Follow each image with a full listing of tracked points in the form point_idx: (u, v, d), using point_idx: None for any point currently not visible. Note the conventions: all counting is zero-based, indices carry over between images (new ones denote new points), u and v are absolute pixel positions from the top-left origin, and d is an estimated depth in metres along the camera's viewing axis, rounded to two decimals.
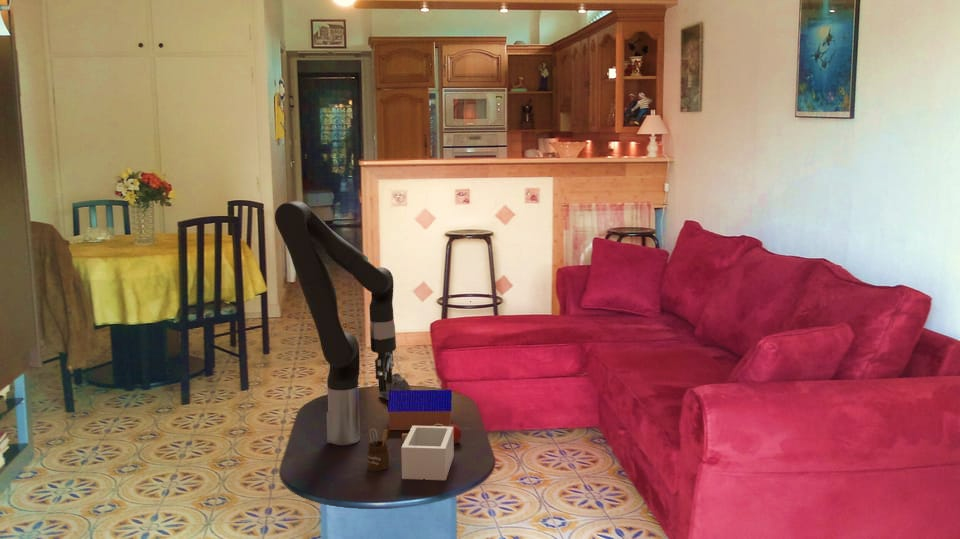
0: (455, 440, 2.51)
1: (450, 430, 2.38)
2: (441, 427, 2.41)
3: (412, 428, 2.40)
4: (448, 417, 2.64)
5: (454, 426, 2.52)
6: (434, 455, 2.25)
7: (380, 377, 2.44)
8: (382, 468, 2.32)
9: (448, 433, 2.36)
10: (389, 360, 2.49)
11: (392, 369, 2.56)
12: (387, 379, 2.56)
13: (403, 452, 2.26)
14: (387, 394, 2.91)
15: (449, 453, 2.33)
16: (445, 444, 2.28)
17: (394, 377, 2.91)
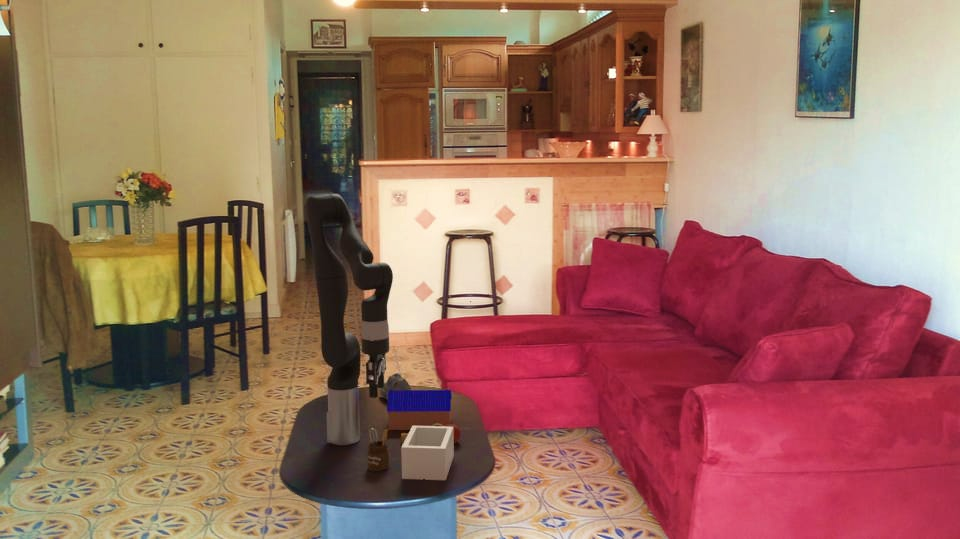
0: (454, 440, 2.51)
1: (450, 430, 2.38)
2: (441, 427, 2.41)
3: (412, 428, 2.40)
4: (447, 417, 2.63)
5: (453, 426, 2.52)
6: (434, 455, 2.25)
7: (371, 382, 2.24)
8: (382, 468, 2.32)
9: (448, 433, 2.36)
10: (381, 363, 2.28)
11: (384, 373, 2.36)
12: (378, 384, 2.35)
13: (403, 452, 2.26)
14: (387, 394, 2.91)
15: (449, 453, 2.33)
16: (445, 444, 2.28)
17: (394, 377, 2.91)
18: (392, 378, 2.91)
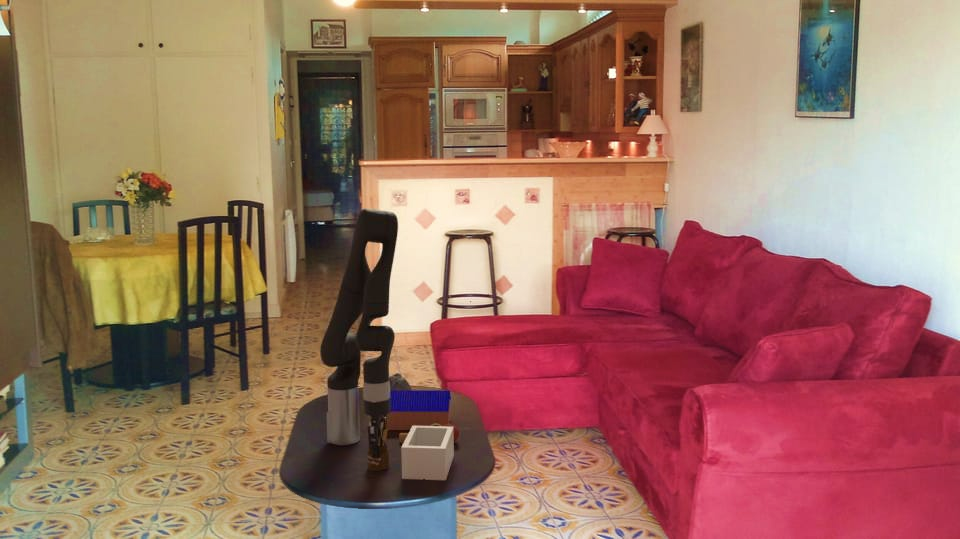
0: None
1: (450, 430, 2.38)
2: (441, 427, 2.41)
3: (412, 428, 2.40)
4: (446, 418, 2.63)
5: (452, 426, 2.52)
6: (434, 455, 2.25)
7: (373, 444, 2.28)
8: (382, 468, 2.32)
9: (448, 433, 2.36)
10: (383, 424, 2.31)
11: None
12: None
13: (403, 452, 2.26)
14: None
15: (449, 453, 2.33)
16: (445, 444, 2.28)
17: (395, 377, 2.91)
18: (393, 378, 2.92)
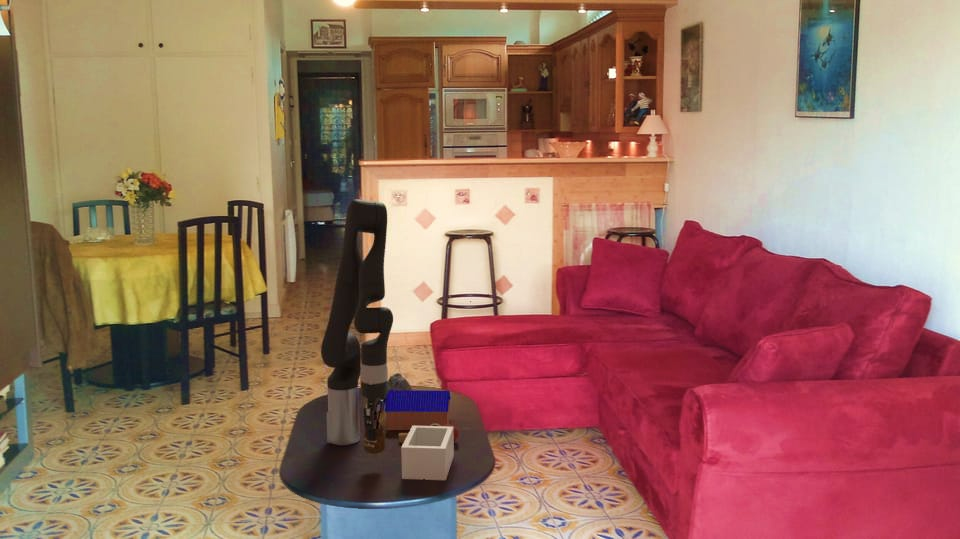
0: None
1: (450, 430, 2.38)
2: (441, 427, 2.41)
3: (412, 428, 2.40)
4: (445, 418, 2.63)
5: (451, 426, 2.52)
6: (434, 455, 2.25)
7: (369, 426, 2.27)
8: (378, 451, 2.31)
9: (448, 433, 2.36)
10: (379, 406, 2.30)
11: None
12: None
13: (403, 452, 2.26)
14: None
15: (449, 453, 2.33)
16: (445, 444, 2.28)
17: (395, 377, 2.91)
18: (393, 378, 2.92)
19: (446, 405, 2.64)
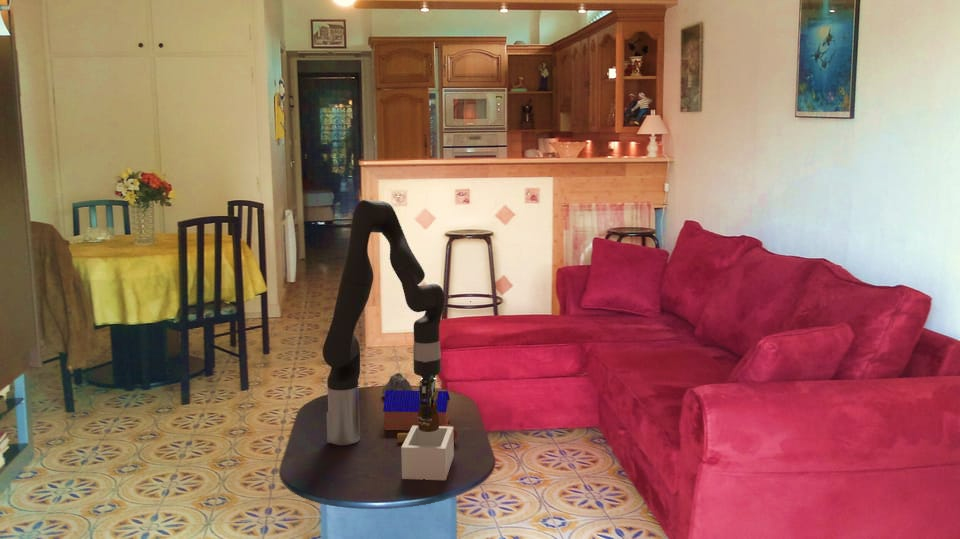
0: None
1: (450, 430, 2.38)
2: (441, 427, 2.41)
3: (412, 428, 2.40)
4: (443, 418, 2.62)
5: (449, 426, 2.51)
6: (434, 455, 2.25)
7: (425, 404, 2.26)
8: (433, 429, 2.31)
9: (448, 433, 2.36)
10: (433, 384, 2.29)
11: None
12: None
13: (403, 452, 2.26)
14: None
15: (449, 453, 2.33)
16: (445, 444, 2.28)
17: (396, 377, 2.92)
18: (393, 378, 2.92)
19: (444, 405, 2.63)
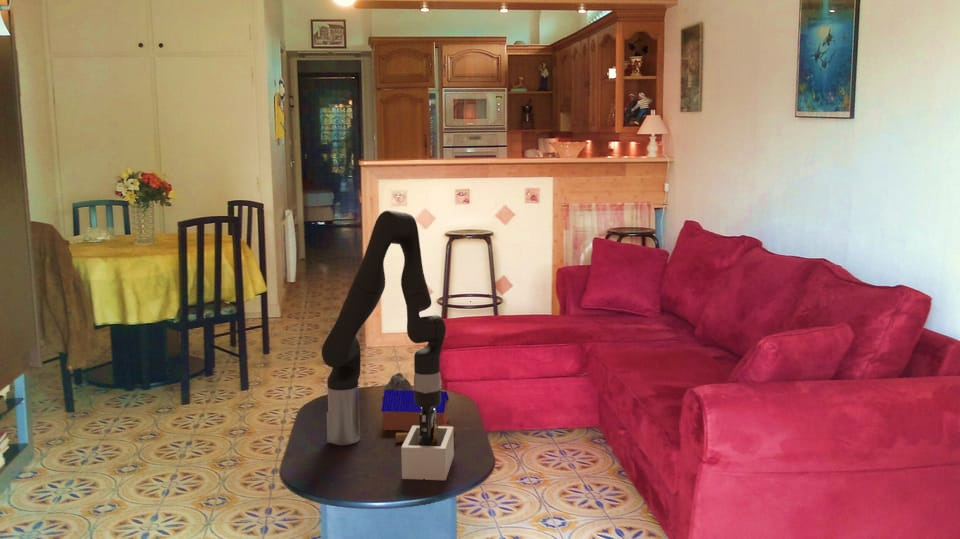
0: None
1: (450, 430, 2.38)
2: (441, 427, 2.41)
3: (412, 428, 2.40)
4: (441, 419, 2.62)
5: (448, 426, 2.51)
6: (434, 455, 2.25)
7: (424, 434, 2.26)
8: None
9: (448, 433, 2.36)
10: (433, 415, 2.31)
11: None
12: (429, 433, 2.38)
13: (403, 452, 2.26)
14: None
15: (449, 453, 2.33)
16: (445, 444, 2.28)
17: (396, 377, 2.92)
18: (394, 378, 2.92)
19: (443, 406, 2.63)
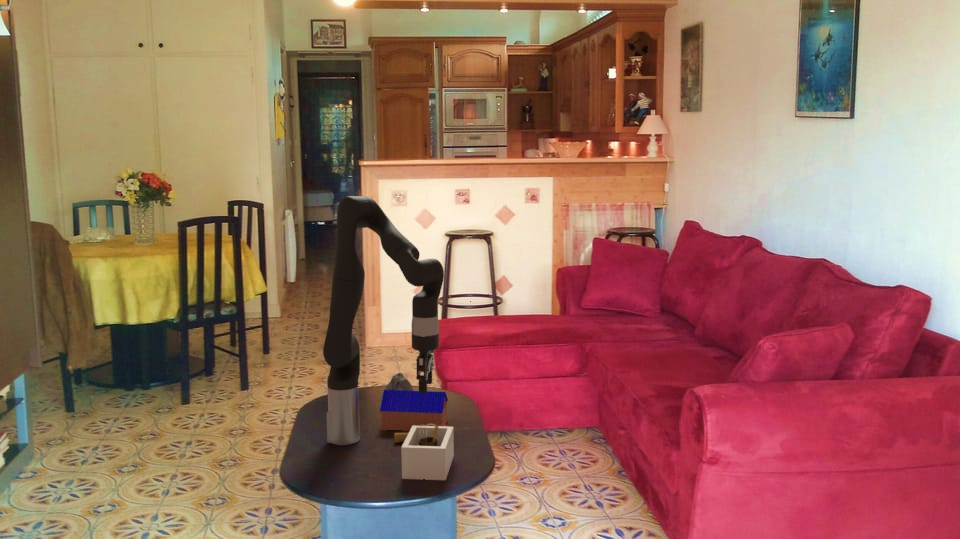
0: None
1: (450, 430, 2.38)
2: (441, 427, 2.41)
3: (412, 428, 2.40)
4: (439, 419, 2.62)
5: (446, 426, 2.51)
6: (434, 455, 2.25)
7: (421, 377, 2.24)
8: None
9: (448, 433, 2.36)
10: (431, 359, 2.29)
11: (432, 369, 2.36)
12: (426, 379, 2.36)
13: (403, 452, 2.26)
14: None
15: (449, 453, 2.33)
16: (445, 444, 2.28)
17: (397, 376, 2.92)
18: (395, 377, 2.92)
19: (441, 406, 2.62)
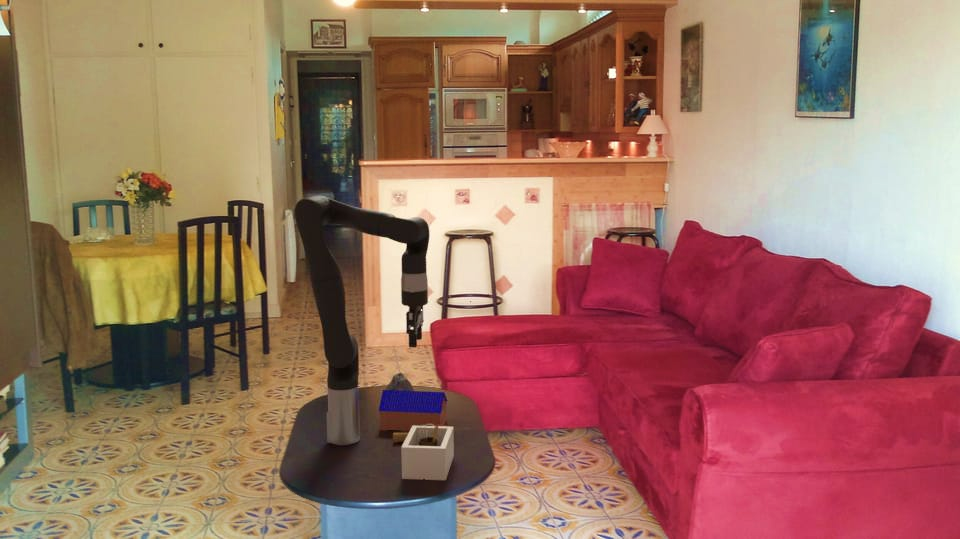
0: None
1: (450, 430, 2.38)
2: (441, 427, 2.41)
3: (412, 428, 2.40)
4: (438, 419, 2.61)
5: None
6: (434, 455, 2.25)
7: (411, 331, 2.33)
8: None
9: (448, 433, 2.36)
10: (420, 314, 2.37)
11: None
12: (416, 335, 2.44)
13: (403, 452, 2.26)
14: None
15: (449, 453, 2.33)
16: (445, 444, 2.28)
17: (397, 376, 2.92)
18: (395, 377, 2.92)
19: (440, 407, 2.62)
